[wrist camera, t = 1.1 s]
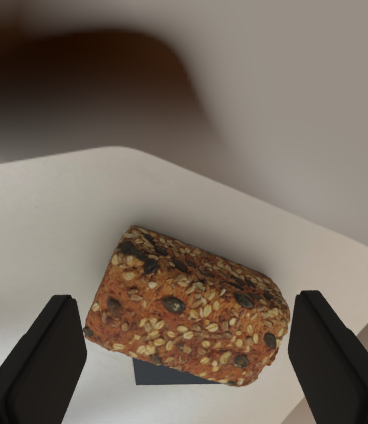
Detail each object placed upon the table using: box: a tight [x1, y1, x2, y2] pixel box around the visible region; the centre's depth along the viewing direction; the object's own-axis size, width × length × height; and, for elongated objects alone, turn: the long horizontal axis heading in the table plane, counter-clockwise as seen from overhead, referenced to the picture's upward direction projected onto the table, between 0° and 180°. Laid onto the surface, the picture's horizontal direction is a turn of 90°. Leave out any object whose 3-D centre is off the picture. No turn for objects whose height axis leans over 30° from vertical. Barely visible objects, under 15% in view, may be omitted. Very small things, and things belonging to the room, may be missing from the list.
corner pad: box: [133, 358, 222, 385], centre depth 37 cm, size 12×16×1 cm
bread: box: [83, 226, 290, 387], centre depth 28 cm, size 19×11×10 cm, turn 66°
